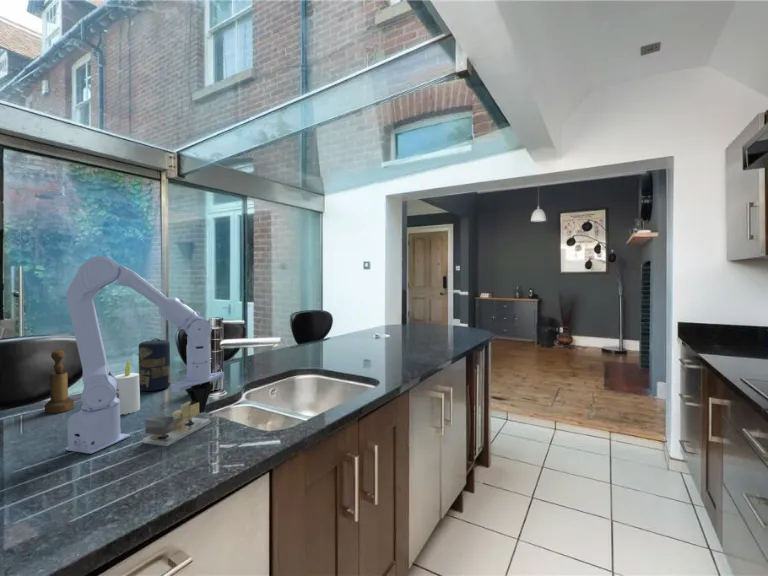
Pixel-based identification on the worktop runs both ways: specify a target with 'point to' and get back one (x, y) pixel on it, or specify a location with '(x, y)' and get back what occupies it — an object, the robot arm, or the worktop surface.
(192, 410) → the sliding leg
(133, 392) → the candle
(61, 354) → the brown tall knobbed cylinder
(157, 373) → the canister
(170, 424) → the grey blocky hammer
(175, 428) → the bolt plate
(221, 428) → the worktop surface
